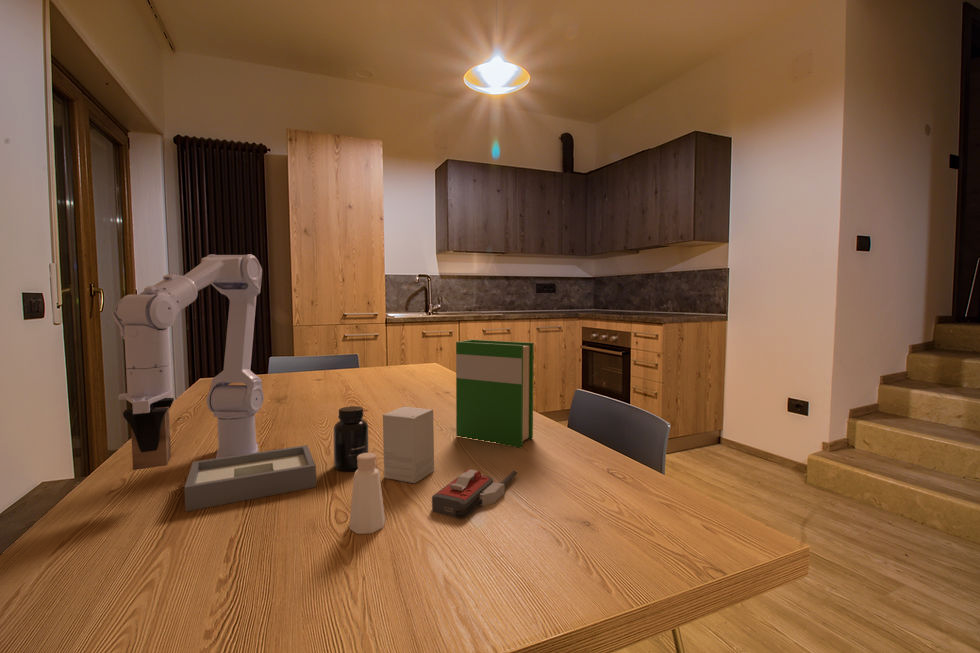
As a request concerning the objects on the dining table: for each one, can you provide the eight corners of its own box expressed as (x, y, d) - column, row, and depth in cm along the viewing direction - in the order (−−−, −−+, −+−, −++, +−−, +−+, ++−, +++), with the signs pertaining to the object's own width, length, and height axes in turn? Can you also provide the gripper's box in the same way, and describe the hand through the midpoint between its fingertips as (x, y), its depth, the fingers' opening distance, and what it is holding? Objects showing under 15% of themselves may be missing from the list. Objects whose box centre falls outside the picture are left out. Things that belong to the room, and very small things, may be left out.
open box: (193, 482, 83) (192, 461, 83) (307, 463, 93) (307, 445, 93) (185, 511, 72) (184, 487, 72) (316, 486, 82) (315, 465, 81)
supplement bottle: (359, 473, 88) (357, 413, 87) (327, 470, 89) (325, 412, 89) (374, 460, 95) (373, 405, 94) (345, 458, 96) (343, 404, 95)
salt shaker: (352, 538, 64) (351, 464, 64) (346, 521, 69) (344, 452, 68) (389, 529, 67) (388, 457, 66) (380, 513, 72) (379, 447, 71)
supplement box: (435, 470, 89) (435, 409, 89) (414, 484, 83) (413, 418, 82) (405, 465, 93) (404, 405, 92) (382, 478, 86) (381, 413, 85)
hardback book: (532, 439, 110) (533, 342, 108) (521, 447, 103) (521, 345, 102) (470, 429, 118) (470, 339, 116) (456, 437, 111) (456, 342, 110)
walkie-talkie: (473, 528, 68) (520, 480, 86) (473, 500, 68) (520, 457, 86) (425, 516, 72) (480, 472, 90) (424, 489, 71) (480, 451, 89)
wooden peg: (138, 461, 76) (136, 409, 75) (171, 456, 78) (168, 406, 77) (133, 470, 72) (130, 415, 71) (167, 465, 74) (164, 412, 73)
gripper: (128, 362, 78) (131, 437, 79) (105, 374, 66) (109, 464, 66) (176, 359, 82) (179, 432, 83) (163, 371, 69) (167, 456, 70)
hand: (152, 446), depth 75 cm, fingers closed on wooden peg, 4 cm apart
